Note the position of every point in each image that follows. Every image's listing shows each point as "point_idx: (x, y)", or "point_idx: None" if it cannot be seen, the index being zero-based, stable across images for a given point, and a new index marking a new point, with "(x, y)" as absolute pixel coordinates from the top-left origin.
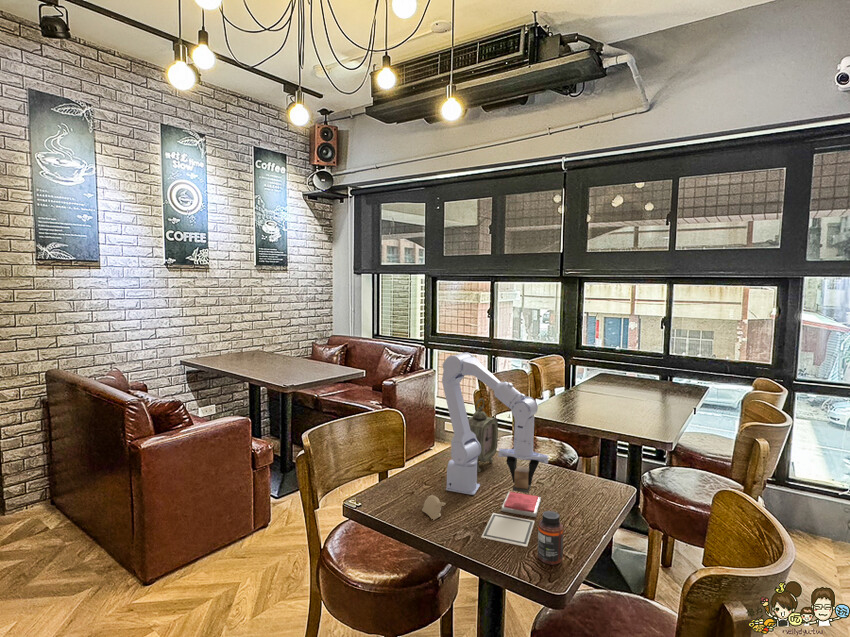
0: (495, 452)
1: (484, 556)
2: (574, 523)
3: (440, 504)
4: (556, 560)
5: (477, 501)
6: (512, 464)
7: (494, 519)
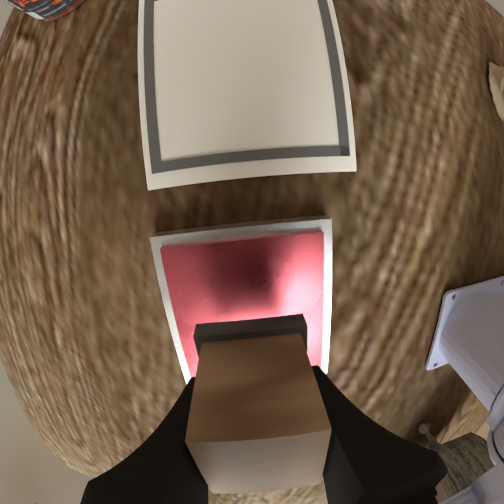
0: None
1: None
2: (32, 259)
3: None
4: None
5: (429, 253)
6: (377, 471)
7: (331, 109)
